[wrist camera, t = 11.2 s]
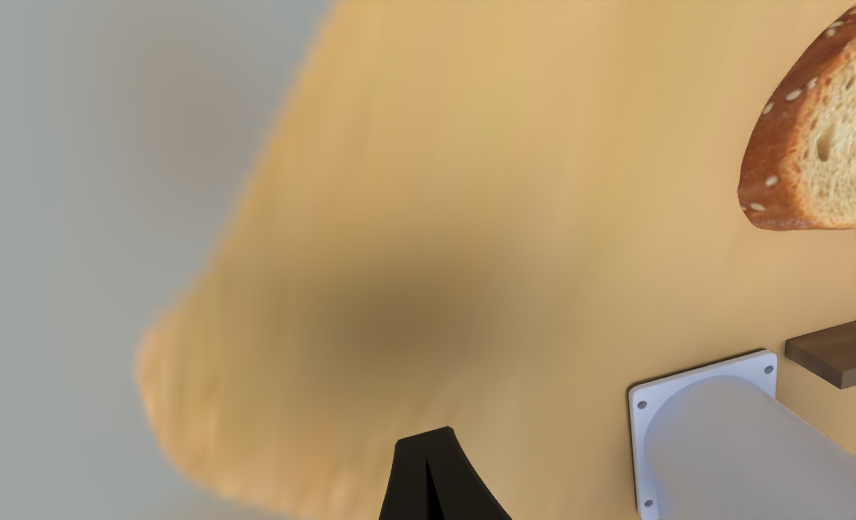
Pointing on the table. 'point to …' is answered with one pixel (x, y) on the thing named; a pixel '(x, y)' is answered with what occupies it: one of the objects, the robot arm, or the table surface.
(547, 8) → the table surface
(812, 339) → the frame
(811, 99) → the bread slice
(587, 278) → the table surface
